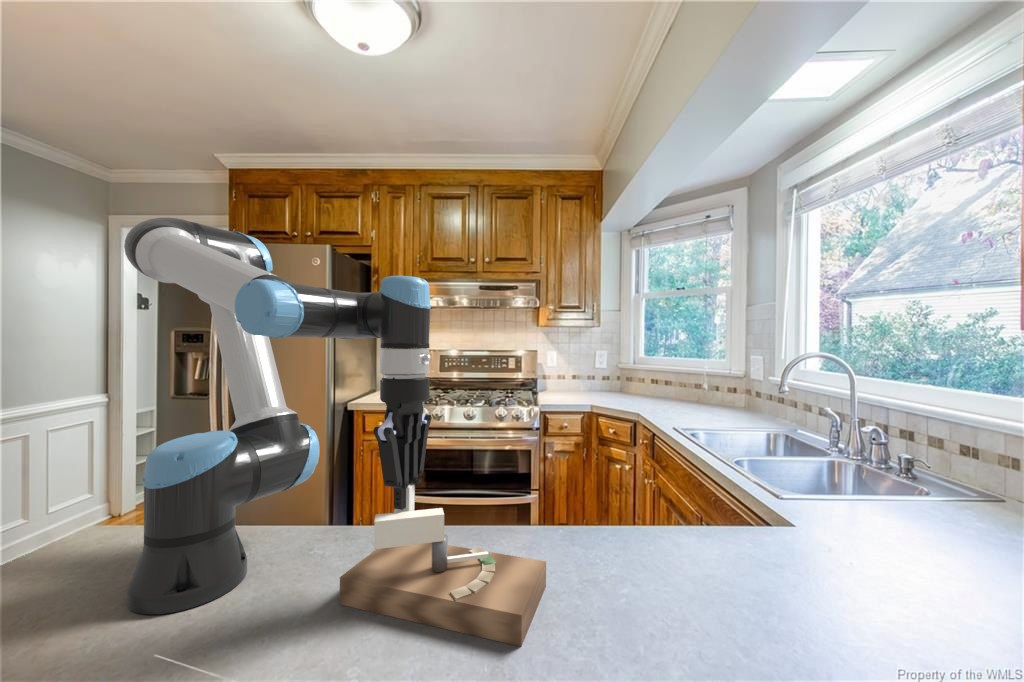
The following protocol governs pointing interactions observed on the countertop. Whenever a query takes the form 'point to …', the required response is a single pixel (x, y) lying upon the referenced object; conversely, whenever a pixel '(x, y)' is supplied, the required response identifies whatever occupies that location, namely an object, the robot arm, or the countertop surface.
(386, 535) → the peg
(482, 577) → the board
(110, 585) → the countertop surface
